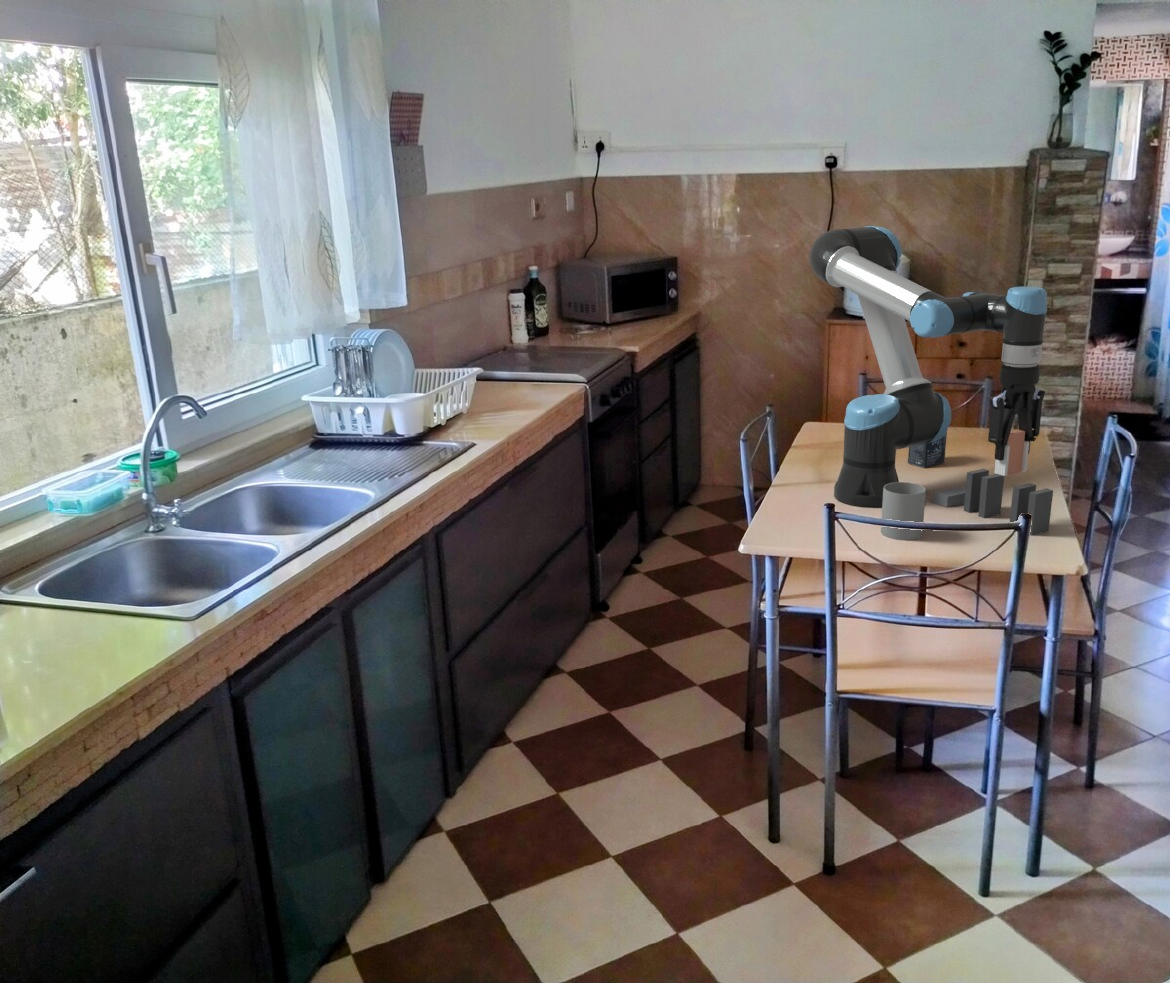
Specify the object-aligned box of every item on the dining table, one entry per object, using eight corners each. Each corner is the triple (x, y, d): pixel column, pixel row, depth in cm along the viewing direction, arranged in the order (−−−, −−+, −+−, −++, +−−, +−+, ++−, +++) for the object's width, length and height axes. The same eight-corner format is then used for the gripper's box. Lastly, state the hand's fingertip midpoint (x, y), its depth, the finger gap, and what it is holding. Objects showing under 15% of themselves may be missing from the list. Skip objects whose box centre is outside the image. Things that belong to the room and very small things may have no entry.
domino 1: (969, 512, 223) (972, 473, 220) (963, 510, 225) (966, 472, 222) (985, 508, 225) (989, 470, 223) (980, 506, 227) (983, 468, 224)
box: (925, 468, 255) (928, 428, 252) (907, 463, 260) (909, 424, 257) (945, 463, 259) (948, 423, 256) (927, 458, 264) (930, 419, 261)
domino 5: (1031, 535, 209) (1036, 494, 206) (1025, 533, 210) (1029, 492, 207) (1048, 531, 211) (1053, 490, 208) (1042, 528, 212) (1046, 488, 210)
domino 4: (1015, 529, 212) (1019, 488, 210) (1009, 527, 214) (1013, 486, 211) (1032, 525, 215) (1036, 485, 212) (1025, 523, 216) (1030, 483, 213)
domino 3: (1004, 475, 213) (1008, 434, 210) (998, 474, 214) (1002, 433, 211) (1021, 472, 215) (1025, 431, 212) (1014, 470, 216) (1019, 429, 213)
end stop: (946, 507, 227) (947, 496, 226) (933, 502, 230) (934, 492, 230) (972, 501, 230) (973, 490, 230) (959, 496, 234) (960, 486, 233)
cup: (905, 543, 207) (908, 497, 204) (872, 532, 214) (875, 487, 210) (930, 533, 212) (934, 488, 209) (898, 523, 218) (901, 479, 215)
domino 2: (983, 518, 220) (987, 478, 217) (978, 516, 221) (981, 476, 218) (1000, 514, 222) (1004, 475, 219) (994, 512, 223) (998, 473, 220)
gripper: (1003, 371, 200) (993, 483, 207) (1066, 361, 208) (1055, 469, 215) (974, 366, 207) (965, 474, 214) (1036, 356, 214) (1026, 461, 221)
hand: (1010, 471), depth 214 cm, fingers closed on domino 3, 5 cm apart
